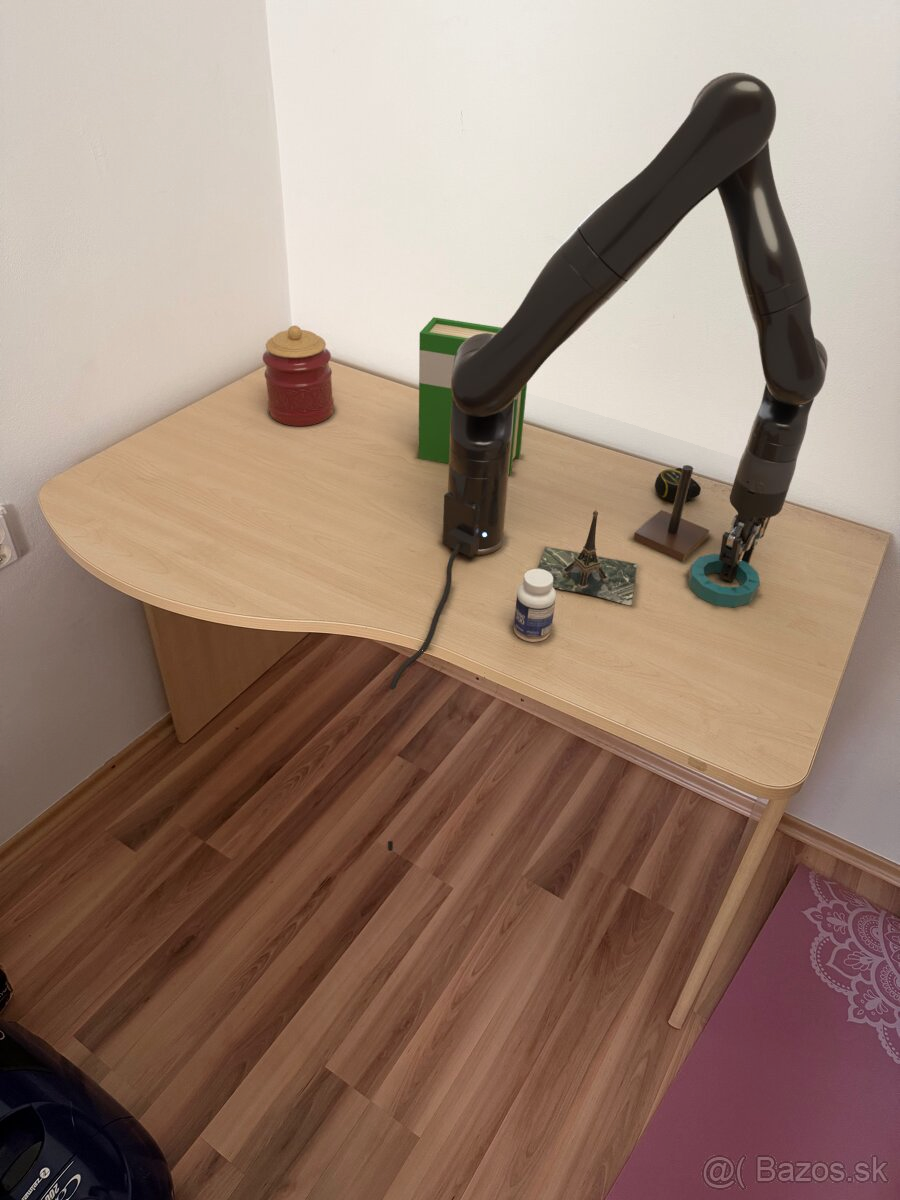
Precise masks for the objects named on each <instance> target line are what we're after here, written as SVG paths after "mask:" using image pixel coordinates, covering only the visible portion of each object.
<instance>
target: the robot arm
mask: <svg viewBox="0 0 900 1200" xmlns="http://www.w3.org/2000/svg"><path fill="white" fill-rule="evenodd" d="M776 121H777V102H776V100H775V95H774V93H773V92H772V90H771V88H770V87H769V85H768V84H767V83H765V82H764V81H763V80H762V79H760V78H758V77H756V76H754V75H752V74H749V73H745V72H736V71H735V72H727V73H724V74H721V75H719V76H716V77H715V78H713V79H711V80H710V81H708V83H706V84H705V85H704V86H703V87H702V88H701V89H700V91H699V92H698V93H697V95H696V96H695V99H694V100H693V102H692V104H691V108H690V111H689V114H688V115H687V116H686V118H685V119H684V120H683V122H682V123H681V125H680V126H679V127H678V128H677V130H676V131H675V133H674V134H673V135H672V136H671V137H670V138H669V140H668V141H667V142H666V143H665V144H664V146H663V147H662V148H661V150H660V151H659V152H658V153H657V154H656V155H655V157H654V158H653V159H652V160H651V161H650V162H649V163H648V165H646V166H645V167H644V168H643V169H642V170H641V171H640V172H639V173H637V175H636V176H634V177H633V178H632V179H631V180H629V181H628V182H626V183H625V184H624V185H623V186H621V187H620V188H619V189H618V190H617V191H615V192H614V193H613V194H611V195H610V196H609V197H608V198H606V200H605V201H603V202H602V203H601V204H600V205H598V206H597V207H596V208H595V209H594V210H593V211H592V212H591V213H589V215H588V216H587V217H586V218H585V219H583V221H581V223H580V224H579V225H578V226H577V227H576V228H575V229H574V230H573V231H572V232H571V233H570V234H569V236H568V237H567V238H566V239H565V240H564V241H563V242H562V243H561V244H560V245H559V246H558V248H557V249H556V250H555V251H554V253H552V255H551V256H550V257H549V259H548V260H547V262H546V263H545V265H544V266H543V268H542V269H541V270H540V272H539V274H538V275H537V277H536V278H535V280H534V282H533V283H532V285H531V286H530V288H529V290H528V291H527V292H526V295H525V297H524V298H523V300H522V301H521V303H520V305H519V307H518V308H517V310H516V311H515V312H514V313H513V315H512V316H511V317H510V318H509V319H508V321H507V322H506V323H505V324H504V325H503V326H502V327H501V328H502V329H501V330H500V331H499V332H497V333H496V334H495V335H494V334H490V333H482V334H477V335H474V336H472V337H470V338H468V339H467V340H466V341H464V342H463V343H462V344H461V346H460V347H459V348H458V350H457V352H456V354H455V357H454V362H453V369H452V375H451V390H452V410H451V423H450V448H449V464H448V477H447V478H448V479H447V492H446V493H444V495H443V517H442V518H443V519H442V544H443V545H445V546H446V547H448V548H450V549H452V552H451V554H450V557H449V559H448V562H447V566H446V582H445V588H444V591H443V594H442V597H441V599H440V601H439V603H438V606H437V608H436V610H435V612H434V615H433V618H432V621H431V624H430V627H429V631H428V634H427V636H426V638H425V639H424V641H423V643H422V645H421V647H420V648H419V649H418V650H417V651H416V652H415V653H414V654H413V655H412V656H410V657H409V658H407V660H405V661H404V662H403V663H402V664H401V665H400V666H399V668H397V671H396V672H395V674H394V676H393V678H392V680H391V683H390V685H389V690H392V691H393V690H395V689H396V687H397V685H398V683H399V680H400V678H401V676H402V675H403V673H404V672H405V670H406V669H408V667H409V666H411V664H413V663H414V662H415V661H417V660H418V659H419V658H420V657H421V656H422V655H423V654H424V653H425V652H426V650H427V649H428V647H429V646H430V643H431V642H432V639H433V637H434V635H435V631H436V628H437V625H438V621H439V618H440V616H441V614H442V611H443V609H444V607H445V605H446V602H447V600H448V598H449V594H450V591H451V587H452V578H453V577H452V574H453V573H452V572H453V565H454V562H455V559H456V558H457V555H458V553H459V554H462V555H463V556H466V557H467V558H469V559H473V558H475V557H477V556H486V555H489V554H493V553H495V552H496V551H498V550H499V549H500V548H502V546H503V544H504V538H505V534H504V533H505V532H504V529H505V518H506V506H507V496H508V494H507V493H508V484H509V475H508V474H509V464H510V452H511V441H512V430H513V413H514V400H515V397H516V396H517V395H518V394H519V392H520V391H521V390H522V389H523V387H524V386H525V385H526V384H527V385H528V383H529V381H530V380H531V379H532V377H533V376H534V375H535V374H536V373H537V372H538V370H539V369H540V368H541V367H542V365H544V364H545V362H546V361H547V360H548V359H549V358H550V356H551V355H552V354H554V352H555V351H557V349H559V348H560V347H561V346H562V345H563V344H564V343H565V342H566V341H567V340H568V339H570V338H571V337H572V336H573V335H574V334H575V333H576V332H577V331H578V330H579V329H580V328H582V326H583V325H584V324H585V323H587V321H588V320H589V319H591V317H592V316H593V315H594V314H595V313H597V312H598V311H599V310H600V309H601V308H602V307H603V306H604V305H605V304H606V303H607V302H608V301H610V300H611V299H612V298H613V297H614V296H615V295H616V293H618V292H619V291H620V290H621V289H622V288H623V286H625V285H626V284H627V283H628V282H629V281H630V280H631V279H632V278H633V276H634V275H636V273H637V272H638V271H639V270H640V269H641V268H642V267H643V265H644V264H645V263H646V262H647V261H648V260H649V259H650V258H651V257H652V256H653V255H654V254H655V253H656V251H657V250H658V249H659V248H660V247H661V246H662V245H663V244H664V242H665V241H666V240H667V239H668V237H669V236H670V235H671V234H672V233H673V232H674V230H675V229H676V228H677V226H678V225H679V224H680V223H681V222H682V221H683V220H684V218H685V217H687V216H688V214H690V212H691V211H693V210H694V209H695V208H696V207H697V206H698V205H699V204H700V203H701V202H702V201H704V200H705V199H706V198H707V197H708V196H710V195H711V194H712V193H713V192H714V191H715V190H716V189H717V192H718V195H719V197H720V200H721V204H722V206H723V209H724V213H725V216H726V220H727V223H728V227H729V230H730V235H731V239H732V243H733V248H734V252H735V257H736V258H735V259H736V263H737V267H738V271H739V275H740V280H741V282H742V287H743V290H744V295H745V298H746V301H747V305H748V309H749V312H750V315H751V318H752V321H753V324H754V327H755V329H756V334H757V342H758V349H759V355H760V356H759V357H760V362H761V368H762V373H763V377H764V381H765V385H764V389H763V392H762V393H763V394H762V397H761V398H762V399H761V403H760V405H759V408H758V411H757V412H756V414H755V417H754V420H753V423H752V425H751V428H750V430H749V435H748V438H747V441H746V446H745V448H744V451H743V453H742V455H741V457H740V460H739V462H738V463H739V464H738V467H737V470H736V473H735V477H734V480H733V484H732V487H731V491H730V494H729V503H730V505H731V506H732V507H733V508H734V510H735V511H736V513H737V514H735V515H734V516H733V518H732V520H731V523H730V526H731V527H730V529H729V532H728V531H725V532H724V533H723V534H722V539H721V543H720V544H721V546H720V550H719V554H720V556H719V560H720V561H723V562H724V563H723V567H722V570H721V573H719V577H720V579H722V580H725V581H727V582H730V583H733V582H734V581H735V580H736V574H737V571H738V568H739V565H740V563H741V561H745V562H747V563H748V564H749V565H750V563H751V559H752V555H753V552H754V551H755V550H754V549H755V548H756V547H757V546H758V545H759V540H760V539H762V538H763V537H764V536H765V533H766V530H767V527H768V525H769V523H770V520H771V518H773V517H775V516H778V515H779V514H780V513H781V511H782V510H783V506H784V504H785V500H786V498H787V495H788V493H789V490H790V486H791V484H792V480H793V477H794V475H795V471H796V468H797V462H798V461H797V460H798V457H799V453H800V451H801V448H802V445H803V442H804V440H805V436H806V432H807V428H808V420H809V416H810V411H811V409H812V406H813V403H814V400H815V398H816V397H817V396H818V395H819V393H820V392H821V390H822V389H823V387H824V384H825V381H826V375H827V368H828V361H829V360H828V353H827V350H826V347H825V346H824V344H823V343H822V342H821V340H819V339H818V338H816V337H815V333H814V329H813V326H812V303H811V296H810V293H809V289H808V283H807V280H806V276H805V273H804V269H803V265H802V261H801V257H800V254H799V251H798V248H797V245H796V242H795V239H794V236H793V234H792V231H791V228H790V226H789V222H788V220H787V218H786V215H785V212H784V209H783V206H782V203H781V200H780V197H779V193H778V189H777V186H776V181H775V179H774V173H773V167H772V160H771V153H770V142H769V140H770V138H771V136H772V133H773V131H774V128H775V125H776ZM422 650H423V651H422ZM393 849H394V843H393V840H388V841H387V850H388V851H389V852H392V851H393Z"/></svg>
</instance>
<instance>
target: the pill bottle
mask: <svg viewBox="0 0 900 1200" xmlns="http://www.w3.org/2000/svg"><path fill="white" fill-rule="evenodd" d="M556 600H557V592H556V588H554V587H553V576H552V574H551V573H549V572H548V571H546V570H543V569H538V568H532V569H529V570H527V571H526V572H525V573H524V575H523V581H522V583H521V584H520V585H519V586H518V588H517V592H516V601H515V607H514V608H515V610H514V619H513V631H514V633H515V634H516V636H517V637H518V638H519V639H521V640H524V641H526V642H531V643H537V642H538V643H539V642H543V641H544V640H546V639H548V637H549V636H550V635H551V633H552V629H553V620H554V613H555V606H556Z"/></svg>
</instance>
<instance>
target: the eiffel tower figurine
mask: <svg viewBox="0 0 900 1200" xmlns="http://www.w3.org/2000/svg"><path fill="white" fill-rule="evenodd" d="M597 509H598V506H596V507H595V510H594V511H593V512H592V520H591V523H590V527H589V531H588V535H587V538H586V540H585V544H584V546H582V550H581V551H580V552H577V551H572V550H567V549H560V548H553V547H549V546H545V547H544V550H543V552H542V555H541V558H540V561H539V564H538V567H537V569H543V570H546V571H548V572H549V573H551V574H552V576H553V588H554V589H558V590H564V591H569V592H575V593H579V594H580V595H581V594H584V595H585V594H586V595H590V596H593V597H597V598H602V599H606V600H608V601H613V602H615V603H619V604H623V605H626V606H630V607H632V603H633V596H634V590H635V583H636V574H637V567H638V563H635V562H630V561H624V560H620V559H613V558H609V557H605V556H604V557H603V556H599V555H597V548H596V532H597V522H598V521H597V520H598V516H599V512H598V510H597Z"/></svg>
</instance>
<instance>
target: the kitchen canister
mask: <svg viewBox="0 0 900 1200" xmlns="http://www.w3.org/2000/svg"><path fill="white" fill-rule="evenodd" d="M326 346H327V343H326V340H325V339H324V338H323V337H321V336H319V335H318V334H316V333H315V332H312V331H310V330H306V329H301V328H300V327H299V326H298V325H291V326H289V328H288V329H287V330H283V331H280V332H278V333H276V334H274V335H273V336H272V337H270V338H269V339H268V340H267V341H266V342H265V349H266V350H265V351H264V352H263V355H262V361H263V363H264V364H265V365H266V368H265V370H264V378H265V382H266V390H267V391H266V392H267V405H268V406H267V407H268V411H269V413H270V416H271V418H273V420H275V421H276V422H277V423H280V424H284V425H287V426H294V427H295V426H296V427H303V426H311V425H316V424H319V423H322V422H324V421H326V420H328V419H329V418H330V417H331V416H332V415H333V412H334V408H335V407H334V406H335V401H334V399H335V398H334V396H333V382H332V374H333V370H332V368H331V366H330V364H329V362H330V360H331V358H332V354H331V352H330V350H329V349H328V348H326Z"/></svg>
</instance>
